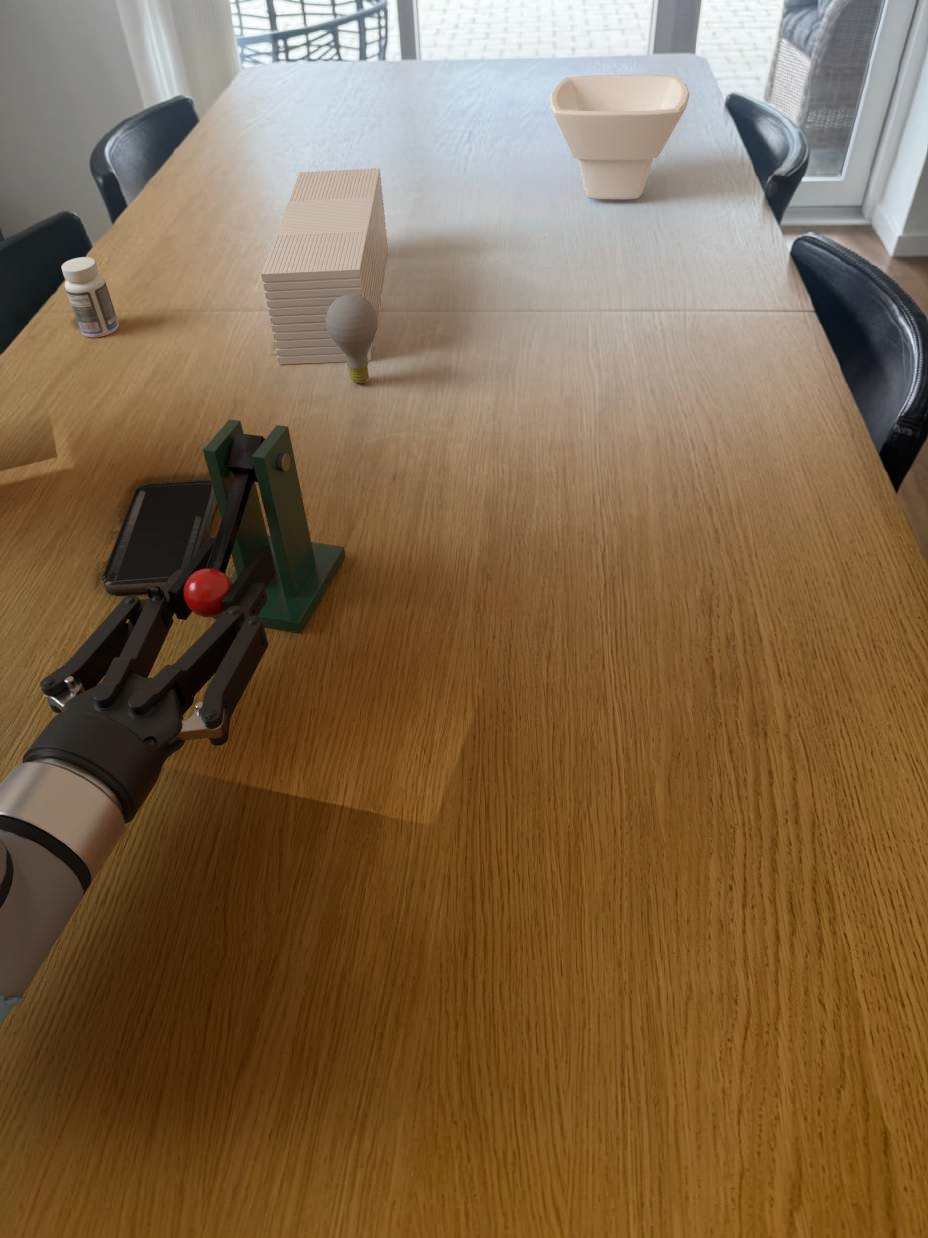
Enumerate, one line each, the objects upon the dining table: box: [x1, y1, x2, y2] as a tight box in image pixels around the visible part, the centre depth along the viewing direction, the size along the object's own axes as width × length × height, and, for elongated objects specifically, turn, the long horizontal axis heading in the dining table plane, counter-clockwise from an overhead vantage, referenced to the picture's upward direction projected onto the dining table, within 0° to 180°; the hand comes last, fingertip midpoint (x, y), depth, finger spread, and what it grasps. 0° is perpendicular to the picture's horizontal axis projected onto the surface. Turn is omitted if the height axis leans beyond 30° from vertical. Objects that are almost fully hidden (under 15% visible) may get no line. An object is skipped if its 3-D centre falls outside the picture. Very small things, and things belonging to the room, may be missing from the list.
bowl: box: [549, 73, 691, 200], centre depth 140 cm, size 19×19×14 cm
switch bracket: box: [202, 418, 347, 634], centre depth 77 cm, size 10×8×15 cm
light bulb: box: [326, 294, 379, 385], centre depth 104 cm, size 5×5×10 cm
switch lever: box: [183, 433, 266, 618], centre depth 72 cm, size 14×4×4 cm, turn 164°
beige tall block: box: [261, 167, 389, 365], centre depth 119 cm, size 32×11×11 cm, turn 0°
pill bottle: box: [60, 256, 120, 339], centre depth 117 cm, size 5×5×8 cm
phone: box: [101, 479, 218, 596], centre depth 88 cm, size 8×1×15 cm
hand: (242, 555), depth 75 cm, fingers closed on switch lever, 4 cm apart
